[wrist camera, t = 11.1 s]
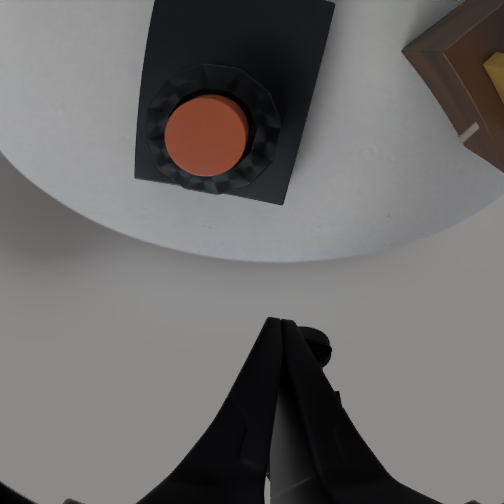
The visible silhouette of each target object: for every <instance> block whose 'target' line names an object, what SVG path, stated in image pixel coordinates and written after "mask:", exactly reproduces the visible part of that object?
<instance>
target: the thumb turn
mask: <svg viewBox="0 0 504 504" xmlns="http://www.w3.org/2000/svg"><path fill="white" fill-rule="evenodd" d="M483 65H484V67H485V69H486V71H487V73H488V74H489V76H490V78H491V80H492V82H493V84H494V86H495V88H496V90H497V92H498V94H499V96H500V98H501V100H502V102H503V104H504V53H498V52H496V53H495V54H494V55H492V56H491V57H490V58H489V59H488V60H487V61H486V62H484V63H483Z"/></svg>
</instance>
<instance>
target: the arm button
mask: <svg viewBox="0 0 504 504" xmlns="http://www.w3.org/2000/svg"><path fill="white" fill-rule="evenodd" d="M248 134H249V125H248V121H247V117H246V115H245V113H244V112H243V110H242V109H241V107H240V106H239V105H238V104H237V103H236V102H234V101H233V100H231V99H229V98H227V97H225V96H222V95H217V94H206V95H201V96H198V97H196V98H194V99H192V100H190V101H188V102H186V103H184V104H182V105H181V106H180V107H178V108H177V109H176V110H175V111H174V112H173V114H172V115H171V117H170V118H169V120H168V122H167V125H166V129H165V144H166V148H167V151H168V153H169V155H170V157H171V158H172V160H173V161H174V162H175V163H176V164H177V165H178V166H179V167H180V168H182V169H183V170H185V171H187V172H189V173H191V174H194V175H198V176H215V175H218V174H221V173H224V172H226V171H228V170H229V169H231V168H232V167H233V166H234V165H235V164H236V163H237V162H238V161H239V159H240V158H241V156H242V154H243V152H244V149H245V146H246V143H247V139H248Z"/></svg>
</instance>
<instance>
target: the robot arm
mask: <svg viewBox="0 0 504 504" xmlns="http://www.w3.org/2000/svg"><path fill="white" fill-rule="evenodd" d="M331 352H332V347H331V346H327V345H318V344H310V343H306V341H305V339H304V337H303V336H302V334H301V332H300V330H299V329H298V327H297V325H296V323H295V322H294V321H292V320H287V319H281V320H280V319H279V318H274V317H268V318H267V319H266V321H265V323H264V325H263V328H262V330H261V332H260V334H259V336H258V338H257V340H256V342H255V344H254V346H253V348H252V350H251V352H250V353H249V355H248V358H247V359H246V362H245V363H244V365H243V367H242V369H241V371H240V373H239V375H238V377H237V379H236V381H235V383H234V385H233V386H232V388H231V390H230V392H229V394H228V396H227V398H226V399H225V401H224V403H223V405H222V407H221V409H220V410H219V412H218V414H217V415H216V417H215V419H214V420H213V422H212V423H211V425H210V426H209V427H208V429H207V430H206V431H205V433H204V434H203V435H202V437H201V438H200V439H199V440H198V442H197V443H196V444H195V445H194V447H193V448H192V449H191V450H190V452H189V453H188V454H187V455H186V456H185V458H184V459H183V460H182V461H181V462H180V464H179V465H178V466H177V467H176V468H175V469H174V471H173V472H172V473H171V474H170V475H169V476H168V477H167V478H166V479H164V480H163V481H162V482H161V483H160V484H159V485H158V486H157V487H155V488H154V489H153V490H152V491H151V492H150V493H148V494H147V495H146V496H145V497H143V498H142V499H141V500H140V501H138V502H137V503H136V504H265V501H264V486H265V478H266V476H267V478H268V479H269V481H270V497H271V499H270V504H443V503H440V502H438V501H436V500H434V499H431V498H429V497H427V496H425V495H423V494H421V493H419V492H417V491H415V490H412V489H411V488H409V487H407V486H405V485H403V484H401V483H399V482H398V481H396V480H395V479H394V478H392V476H391V475H390V474H389V473H388V472H387V471H386V470H385V468H384V467H383V466H382V464H381V463H380V462H379V460H378V459H377V458H376V456H375V455H374V454H373V452H372V451H371V450H370V448H369V447H368V446H367V444H366V443H365V441H364V440H363V438H362V437H361V436H360V434H359V433H358V431H357V430H356V428H355V426H354V425H353V423H352V421H351V420H350V418H349V417H348V415H347V413H346V411H345V410H344V408H342V404H341V399H340V393H339V391H334V390H333V388H332V387H331V385H330V383H329V381H328V380H327V378H326V376H325V374H324V373H323V364H324V363H325V361H326V360H327V358H328V357H329V355H330V354H331ZM0 504H37V503H35V502H34V501H32V500H30V499H28V498H26V497H25V496H23V495H21V494H20V493H18V492H17V491H15V490H13V489H12V488H10V487H9V486H7V485H5V484H4V483H2V482H1V481H0ZM63 504H84V503H81V502H78V501H75V500H72V499H66V500H65V502H64V503H63ZM465 504H480V503H478V502H476V501H475V500H473V501H470V502H467V503H465ZM502 504H504V503H502Z"/></svg>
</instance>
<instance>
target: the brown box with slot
mask: <svg viewBox="0 0 504 504" xmlns="http://www.w3.org/2000/svg"><path fill="white" fill-rule="evenodd" d="M496 52H498V53H504V0H466V1H465V2H463V3H462V4H461V5H459V6H458V7H457V8H455V9H454V10H453V11H451V12H450V13H449V14H447V15H446V16H445V17H443V18H442V19H441V20H439V21H438V22H437V23H436V24H434V25H433V26H432V27H430V28H429V29H428V30H427V31H425V32H424V33H423V34H422V35H420V36H419V37H418V38H417V39H415V40H414V41H413V42H412V43H410V44H409V45H408V46H407V47H405V48H404V49H403V50H402V53H403V54H404V55H405V57H406V58H407V59H408V60H409V62H410V63H411V64H412V66H413V67H414V68H415V69H416V71H417V72H418V73H419V75H420V76H421V77H422V79H423V80H424V82H425V83H426V84H427V86H428V87H429V89H430V90H431V92H432V93H433V94H434V96H435V97H436V99H437V100H438V102H439V104H440V105H441V107H442V108H443V110H444V111H445V113H446V115H447V116H448V118H449V119H450V121H451V123H452V124H453V126H454V128H455V130H456V131H457V133H458V135H459V137H458V138H459V139H460V141H461V143H463V144H464V146H465V147H466V148H468V149H469V150H471V151H473V152H474V153H476V154H477V155H479V156H480V157H482V158H483V159H485V160H486V161H488V162H489V163H491V164H492V165H493V166H495V167H496V168H498V169H499V170H501V171H502V172H503V173H504V104H503V102H502V100H501V98H500V96H499V94H498V92H497V90H496V88H495V86H494V84H493V82H492V80H491V78H490V76H489V74H488V73H487V71H486V69H485V67H484V65H483V63H484V62H486V61H487V60H488V59H489V58H490V57H491V56H492V55H494V54H495V53H496Z"/></svg>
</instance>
